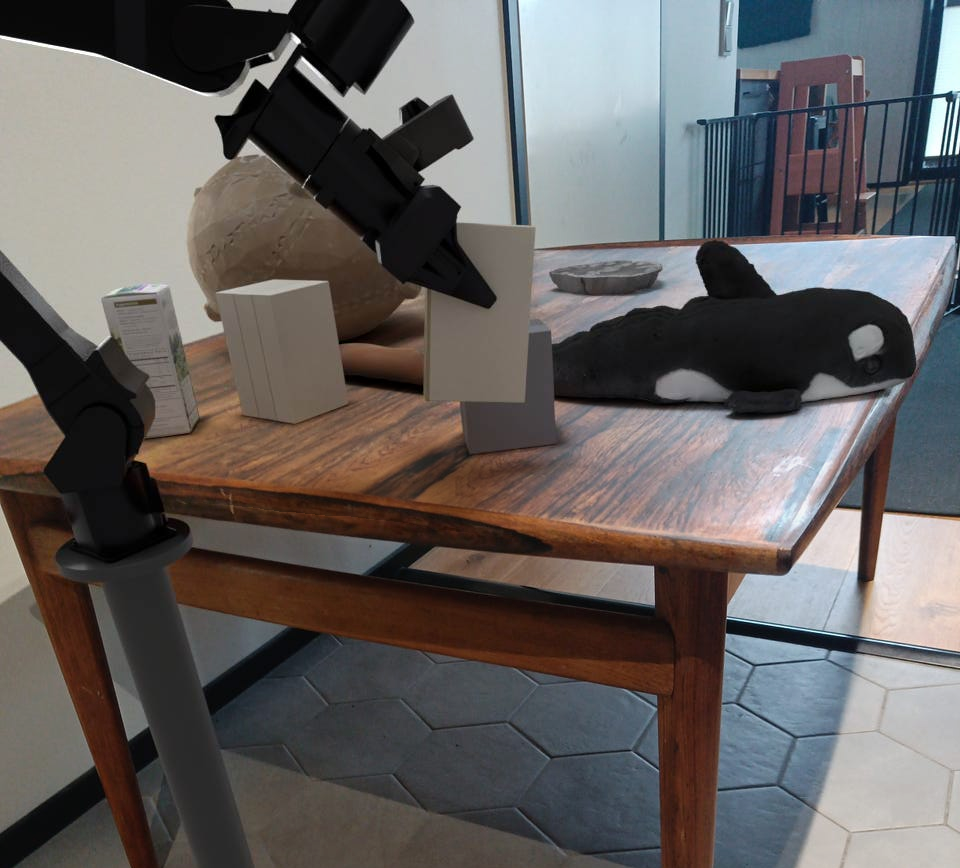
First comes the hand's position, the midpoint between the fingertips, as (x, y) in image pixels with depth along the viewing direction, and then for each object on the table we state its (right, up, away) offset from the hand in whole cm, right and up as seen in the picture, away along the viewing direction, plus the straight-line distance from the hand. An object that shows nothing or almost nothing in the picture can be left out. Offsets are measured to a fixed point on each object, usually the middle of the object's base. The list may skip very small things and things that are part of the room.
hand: (488, 300), depth 70 cm
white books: (-21, -1, +30) cm, 37 cm away
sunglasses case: (-11, +5, +38) cm, 40 cm away
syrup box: (-34, -4, +27) cm, 44 cm away
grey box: (+2, -8, +13) cm, 16 cm away
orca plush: (+22, 0, +24) cm, 32 cm away
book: (-1, -7, +3) cm, 8 cm away
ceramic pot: (-25, +19, +65) cm, 72 cm away
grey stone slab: (+22, +34, +82) cm, 91 cm away
